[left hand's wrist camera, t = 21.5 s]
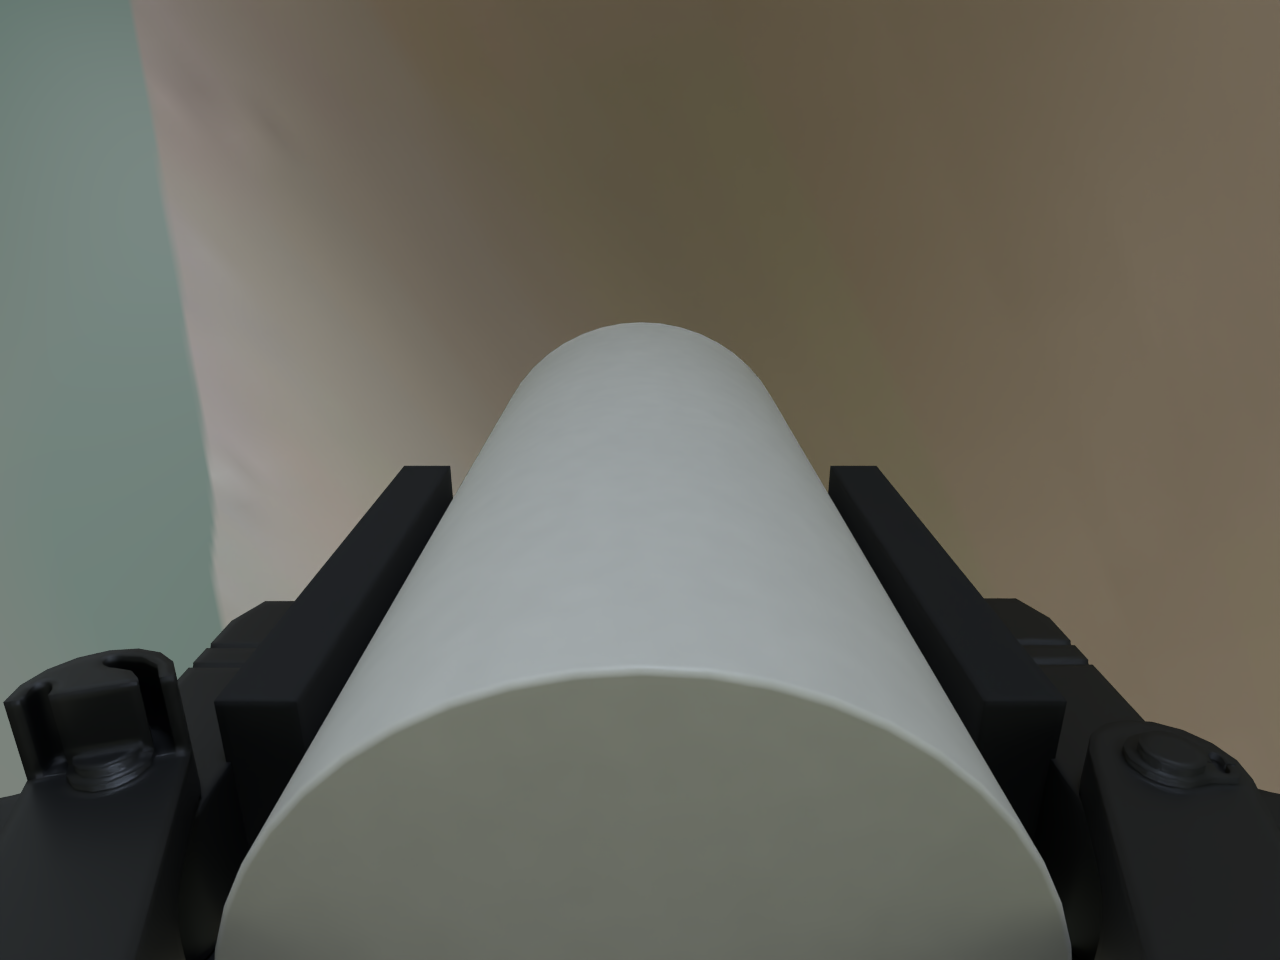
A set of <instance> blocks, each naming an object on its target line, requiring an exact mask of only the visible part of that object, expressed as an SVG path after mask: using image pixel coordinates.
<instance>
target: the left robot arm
mask: <svg viewBox="0 0 1280 960" xmlns="http://www.w3.org/2000/svg"><path fill="white" fill-rule="evenodd" d="M828 494H829V496H830V498H831V499H832V501H833V503H834V504H835V506H836V508H837V510H838V511H839V513H840V515H841V516H842V518H843V520H844V522H845V523H846V525H847V527H848V528H849V530H850V532H851V533H852V535H853V537H854V539H855V540H856V542H857V544H858V545H859V547H860V549H861V550H862V552H863V554H864V556H865V557H866V559H867V561H868V562H869V564H870V566H871V568H872V569H873V571H874V573H875V574H876V576H877V578H878V579H879V581H880V583H881V585H882V586H883V588H884V590H885V591H886V593H887V595H888V597H889V598H890V600H891V602H892V603H893V605H894V607H895V608H896V610H897V612H898V614H899V615H900V617H901V619H902V620H903V622H904V624H905V625H906V627H907V629H908V631H909V632H910V634H911V636H912V637H913V639H914V641H915V643H916V644H917V646H918V648H919V649H920V651H921V653H922V654H923V656H924V658H925V660H926V661H927V663H928V665H929V666H930V668H931V670H932V671H933V673H934V675H935V677H936V678H937V680H938V682H939V683H940V685H941V687H942V689H943V690H944V692H945V694H946V695H947V697H948V699H949V700H950V702H951V704H952V706H953V707H954V709H955V711H956V712H957V714H958V716H959V717H960V719H961V721H962V723H963V724H964V726H965V728H966V729H967V731H968V733H969V735H970V736H971V738H972V740H973V741H974V743H975V745H976V746H977V748H978V750H979V752H980V753H981V755H982V757H983V758H984V760H985V762H986V763H987V765H988V767H989V769H990V770H991V772H992V774H993V775H994V777H995V779H996V781H997V782H998V784H999V786H1000V787H1001V789H1002V791H1003V792H1004V794H1005V796H1006V798H1007V799H1008V801H1009V803H1010V804H1011V806H1012V808H1013V810H1014V811H1015V813H1016V815H1017V816H1018V818H1019V820H1020V821H1021V823H1022V825H1023V827H1024V828H1025V830H1026V832H1027V833H1028V835H1029V837H1030V838H1031V840H1032V842H1033V844H1034V845H1035V847H1036V849H1037V850H1038V852H1039V854H1040V856H1041V857H1042V859H1043V861H1044V863H1045V865H1046V867H1047V870H1048V872H1049V874H1050V877H1051V879H1052V881H1053V884H1054V886H1055V888H1056V891H1057V893H1058V895H1059V898H1060V900H1061V903H1062V907H1063V911H1064V916H1065V920H1066V924H1067V929H1068V933H1069V938H1070V942H1071V952H1072V960H1280V794H1277V793H1272V792H1268V791H1264V790H1260V789H1258V788H1257V787H1256V785H1255V783H1254V781H1253V779H1252V778H1251V777H1250V776H1249V774H1248V773H1247V772H1246V771H1245V769H1244V768H1243V767H1242V766H1241V765H1240V763H1239V762H1238V761H1237V760H1236V759H1234V758H1233V757H1231V756H1230V755H1228V754H1227V753H1225V752H1224V751H1223V750H1221V749H1220V748H1218V747H1217V746H1215V745H1214V744H1213V743H1210V742H1208V741H1206V740H1204V739H1202V738H1199V737H1197V736H1195V735H1193V734H1190V733H1188V732H1186V731H1184V730H1181V729H1177V728H1173V727H1169V726H1166V725H1162V724H1158V723H1154V722H1146V721H1144V720H1143V719H1142V718H1141V717H1140V715H1139V714H1138V713H1137V712H1136V711H1135V710H1134V709H1133V708H1132V707H1131V706H1130V705H1129V704H1128V702H1127V701H1126V700H1125V699H1124V698H1123V697H1122V696H1121V695H1120V694H1119V693H1118V692H1117V691H1116V689H1115V688H1114V687H1113V686H1112V685H1111V684H1110V683H1109V682H1108V681H1107V680H1106V679H1105V678H1104V676H1103V675H1102V674H1101V673H1100V672H1099V671H1098V670H1097V669H1096V668H1095V667H1094V666H1093V665H1089V664H1088V659H1087V658H1086V657H1085V656H1084V655H1083V654H1082V653H1081V652H1080V650H1079V649H1078V648H1077V647H1076V646H1075V645H1071V643H1070V640H1069V639H1068V637H1067V636H1066V635H1065V634H1064V633H1063V632H1062V631H1061V630H1060V629H1059V628H1058V627H1057V626H1056V624H1055V623H1054V622H1053V621H1052V620H1051V619H1050V618H1049V617H1047V616H1045V615H1044V614H1042V613H1040V612H1038V611H1037V610H1035V609H1033V608H1031V607H1030V606H1028V605H1026V604H1025V603H1023V602H1021V601H1019V600H1018V599H984V598H983V597H982V596H981V594H980V593H979V592H978V591H977V590H976V588H975V587H974V586H973V585H972V583H971V582H970V581H969V580H968V578H967V577H966V576H965V575H964V574H963V572H962V571H961V570H960V569H959V567H958V566H957V565H956V564H955V562H954V561H953V560H952V559H951V557H950V556H949V555H948V554H947V553H946V551H945V550H944V549H943V548H942V546H941V545H940V544H939V543H938V541H937V540H936V539H935V538H934V536H933V535H932V534H931V533H930V532H929V530H928V529H927V528H926V527H925V525H924V524H923V523H922V522H921V520H920V519H919V518H918V517H917V516H916V514H915V513H914V512H913V511H912V509H911V508H910V507H909V506H908V504H907V503H906V502H905V501H904V499H903V498H902V497H901V496H900V495H899V493H898V492H897V491H896V490H895V488H894V487H893V486H892V485H891V483H890V482H889V481H888V480H887V479H886V477H885V476H884V475H883V474H882V472H881V471H880V470H879V469H878V467H877V466H830V478H829V490H828ZM452 500H453V495H452V482H451V470H450V466H404V467H403V468H402V469H401V471H400V472H399V473H398V474H397V476H396V477H395V478H394V479H393V481H392V482H391V483H390V484H389V486H388V487H387V488H386V489H385V490H384V492H383V493H382V494H381V495H380V497H379V498H378V499H377V500H376V502H375V503H374V504H373V505H372V506H371V508H370V509H369V510H368V511H367V513H366V514H365V515H364V516H363V518H362V519H361V520H360V521H359V523H358V524H357V525H356V526H355V527H354V529H353V530H352V531H351V532H350V534H349V535H348V536H347V537H346V539H345V540H344V541H343V542H342V544H341V545H340V546H339V547H338V548H337V550H336V551H335V552H334V553H333V555H332V556H331V557H330V558H329V560H328V561H327V562H326V563H325V564H324V566H323V567H322V568H321V569H320V571H319V572H318V573H317V574H316V576H315V577H314V578H313V579H312V581H311V582H310V583H309V584H308V585H307V587H306V588H305V589H304V590H303V592H302V593H301V594H300V595H299V597H298V598H297V599H296V600H295V601H265V602H263V603H261V604H260V605H258V606H256V607H255V608H253V609H251V610H249V611H248V612H246V613H244V614H243V615H241V616H239V617H237V618H236V619H234V620H232V621H231V622H230V623H229V624H228V625H227V627H226V628H225V629H224V630H223V631H222V632H221V633H220V634H219V635H218V636H217V637H216V639H215V640H214V641H213V642H212V643H211V648H207V649H205V651H204V652H203V653H202V654H201V655H200V656H199V657H198V658H197V659H196V660H195V661H194V663H193V668H188V669H187V670H186V671H185V672H184V673H183V675H182V676H181V677H180V678H179V679H178V680H177V677H176V672H175V668H174V663H173V661H172V660H170V659H169V658H167V657H166V656H165V655H163V654H162V653H160V652H155V651H149V650H143V649H125V650H110V651H105V652H101V653H96V654H92V655H88V656H84V657H79V658H76V659H73V660H71V661H68V662H65V663H63V664H60V665H58V666H55V667H53V668H50V669H47V670H45V671H44V672H42V673H40V674H39V675H37V676H35V677H34V678H32V679H30V680H29V681H27V682H25V683H23V684H22V685H20V686H19V687H18V688H17V689H16V690H15V691H14V692H13V693H12V694H11V695H10V696H9V697H8V698H7V699H6V700H5V701H4V706H5V709H6V712H7V716H8V719H9V722H10V725H11V728H12V732H13V735H14V738H15V741H16V745H17V748H18V751H19V754H20V757H21V761H22V764H23V767H24V770H25V774H26V777H27V780H28V781H27V782H26V784H25V786H24V788H23V790H22V792H21V793H20V794H16V795H13V796H8V797H3V798H0V960H215V947H216V942H217V937H218V932H219V928H220V923H221V918H222V914H223V909H224V905H225V903H226V900H227V898H228V895H229V893H230V890H231V888H232V886H233V883H234V881H235V878H236V876H237V873H238V871H239V869H240V866H241V864H242V862H243V860H244V859H245V857H246V855H247V854H248V852H249V850H250V848H251V847H252V845H253V843H254V841H255V840H256V838H257V836H258V835H259V833H260V831H261V829H262V828H263V826H264V824H265V822H266V821H267V819H268V817H269V816H270V814H271V812H272V810H273V809H274V807H275V805H276V803H277V802H278V800H279V798H280V797H281V795H282V793H283V791H284V790H285V788H286V786H287V784H288V783H289V781H290V779H291V778H292V776H293V774H294V772H295V771H296V769H297V767H298V765H299V764H300V762H301V760H302V759H303V757H304V755H305V753H306V752H307V750H308V748H309V746H310V745H311V743H312V741H313V740H314V738H315V736H316V734H317V733H318V731H319V729H320V727H321V726H322V724H323V722H324V721H325V719H326V717H327V715H328V714H329V712H330V710H331V708H332V707H333V705H334V703H335V702H336V700H337V698H338V696H339V695H340V693H341V691H342V689H343V688H344V686H345V684H346V683H347V681H348V679H349V677H350V676H351V674H352V672H353V671H354V669H355V667H356V665H357V664H358V662H359V660H360V658H361V657H362V655H363V653H364V652H365V650H366V648H367V646H368V645H369V643H370V641H371V639H372V638H373V636H374V634H375V633H376V631H377V629H378V627H379V626H380V624H381V622H382V620H383V619H384V617H385V615H386V614H387V612H388V610H389V608H390V607H391V605H392V603H393V601H394V600H395V598H396V596H397V595H398V593H399V591H400V589H401V588H402V586H403V584H404V582H405V581H406V579H407V577H408V576H409V574H410V572H411V570H412V569H413V567H414V565H415V563H416V562H417V560H418V558H419V557H420V555H421V553H422V551H423V550H424V548H425V546H426V544H427V543H428V541H429V539H430V538H431V536H432V534H433V532H434V531H435V529H436V527H437V525H438V524H439V522H440V520H441V519H442V517H443V515H444V513H445V512H446V510H447V508H448V506H449V505H450V503H451V501H452Z"/></svg>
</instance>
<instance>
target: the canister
mask: <svg viewBox="0 0 1280 960" xmlns="http://www.w3.org/2000/svg"><path fill="white" fill-rule="evenodd" d="M215 960H1072V952H1071V942H1070V938H1069V933H1068V929H1067V924H1066V920H1065V916H1064V911H1063V907H1062V903H1061V900H1060V898H1059V895H1058V893H1057V891H1056V888H1055V886H1054V884H1053V881H1052V879H1051V877H1050V874H1049V872H1048V870H1047V867H1046V865H1045V863H1044V861H1043V859H1042V857H1041V856H1040V854H1039V852H1038V850H1037V849H1036V847H1035V845H1034V844H1033V842H1032V840H1031V838H1030V837H1029V835H1028V833H1027V832H1026V830H1025V828H1024V827H1023V825H1022V823H1021V821H1020V820H1019V818H1018V816H1017V815H1016V813H1015V811H1014V810H1013V808H1012V806H1011V804H1010V803H1009V801H1008V799H1007V798H1006V796H1005V794H1004V792H1003V791H1002V789H1001V787H1000V786H999V784H998V782H997V781H996V779H995V777H994V775H993V774H992V772H991V770H990V769H989V767H988V765H987V763H986V762H985V760H984V758H983V757H982V755H981V753H980V752H979V750H978V748H977V746H976V745H975V743H974V741H973V740H972V738H971V736H970V735H969V733H968V731H967V729H966V728H965V726H964V724H963V723H962V721H961V719H960V717H959V716H958V714H957V712H956V711H955V709H954V707H953V706H952V704H951V702H950V700H949V699H948V697H947V695H946V694H945V692H944V690H943V689H942V687H941V685H940V683H939V682H938V680H937V678H936V677H935V675H934V673H933V671H932V670H931V668H930V666H929V665H928V663H927V661H926V660H925V658H924V656H923V654H922V653H921V651H920V649H919V648H918V646H917V644H916V643H915V641H914V639H913V637H912V636H911V634H910V632H909V631H908V629H907V627H906V625H905V624H904V622H903V620H902V619H901V617H900V615H899V614H898V612H897V610H896V608H895V607H894V605H893V603H892V602H891V600H890V598H889V597H888V595H887V593H886V591H885V590H884V588H883V586H882V585H881V583H880V581H879V579H878V578H877V576H876V574H875V573H874V571H873V569H872V568H871V566H870V564H869V562H868V561H867V559H866V557H865V556H864V554H863V552H862V550H861V549H860V547H859V545H858V544H857V542H856V540H855V539H854V537H853V535H852V533H851V532H850V530H849V528H848V527H847V525H846V523H845V522H844V520H843V518H842V516H841V515H840V513H839V511H838V510H837V508H836V506H835V504H834V503H833V501H832V499H831V498H830V496H829V494H828V493H827V491H826V489H825V487H824V486H823V484H822V482H821V481H820V479H819V477H818V476H817V474H816V472H815V470H814V469H813V467H812V465H811V464H810V462H809V460H808V458H807V457H806V455H805V453H804V452H803V450H802V448H801V447H800V445H799V443H798V441H797V440H796V438H795V436H794V435H793V433H792V431H791V430H790V428H789V426H788V424H787V423H786V421H785V419H784V418H783V416H782V414H781V412H780V411H779V409H778V407H777V406H776V404H775V402H774V401H773V399H772V397H771V396H770V394H769V392H768V391H767V389H766V388H765V386H764V385H763V383H762V381H761V380H760V379H759V378H758V377H757V376H756V374H755V373H754V372H753V371H752V370H751V368H750V367H749V366H748V365H747V364H745V363H744V362H743V361H742V360H741V359H740V358H739V357H738V356H736V355H735V354H734V353H733V352H731V351H730V350H728V349H727V348H725V347H724V346H722V345H721V344H719V343H718V342H716V341H714V340H712V339H710V338H708V337H706V336H704V335H702V334H699V333H696V332H693V331H690V330H687V329H684V328H681V327H677V326H671V325H666V324H661V323H645V322H638V323H624V324H617V325H612V326H607V327H602V328H599V329H596V330H593V331H590V332H587V333H584V334H582V335H580V336H578V337H576V338H574V339H572V340H570V341H568V342H566V343H564V344H562V345H561V346H559V347H558V348H557V349H555V350H554V351H552V352H551V353H549V354H548V355H547V356H546V357H545V358H543V359H542V360H541V361H540V362H539V363H538V364H537V365H536V366H535V367H534V368H533V369H532V370H531V371H530V372H529V374H528V375H527V376H526V377H525V378H524V380H523V381H522V382H521V383H520V385H519V387H518V388H517V390H516V391H515V393H514V395H513V396H512V398H511V399H510V401H509V403H508V405H507V406H506V408H505V410H504V412H503V413H502V415H501V417H500V418H499V420H498V422H497V424H496V425H495V427H494V429H493V431H492V432H491V434H490V436H489V437H488V439H487V441H486V443H485V444H484V446H483V448H482V450H481V451H480V453H479V455H478V456H477V458H476V460H475V462H474V463H473V465H472V467H471V469H470V470H469V472H468V474H467V475H466V477H465V479H464V481H463V482H462V484H461V486H460V487H459V489H458V491H457V493H456V494H455V496H454V498H453V500H452V501H451V503H450V505H449V506H448V508H447V510H446V512H445V513H444V515H443V517H442V519H441V520H440V522H439V524H438V525H437V527H436V529H435V531H434V532H433V534H432V536H431V538H430V539H429V541H428V543H427V544H426V546H425V548H424V550H423V551H422V553H421V555H420V557H419V558H418V560H417V562H416V563H415V565H414V567H413V569H412V570H411V572H410V574H409V576H408V577H407V579H406V581H405V582H404V584H403V586H402V588H401V589H400V591H399V593H398V595H397V596H396V598H395V600H394V601H393V603H392V605H391V607H390V608H389V610H388V612H387V614H386V615H385V617H384V619H383V620H382V622H381V624H380V626H379V627H378V629H377V631H376V633H375V634H374V636H373V638H372V639H371V641H370V643H369V645H368V646H367V648H366V650H365V652H364V653H363V655H362V657H361V658H360V660H359V662H358V664H357V665H356V667H355V669H354V671H353V672H352V674H351V676H350V677H349V679H348V681H347V683H346V684H345V686H344V688H343V689H342V691H341V693H340V695H339V696H338V698H337V700H336V702H335V703H334V705H333V707H332V708H331V710H330V712H329V714H328V715H327V717H326V719H325V721H324V722H323V724H322V726H321V727H320V729H319V731H318V733H317V734H316V736H315V738H314V740H313V741H312V743H311V745H310V746H309V748H308V750H307V752H306V753H305V755H304V757H303V759H302V760H301V762H300V764H299V765H298V767H297V769H296V771H295V772H294V774H293V776H292V778H291V779H290V781H289V783H288V784H287V786H286V788H285V790H284V791H283V793H282V795H281V797H280V798H279V800H278V802H277V803H276V805H275V807H274V809H273V810H272V812H271V814H270V816H269V817H268V819H267V821H266V822H265V824H264V826H263V828H262V829H261V831H260V833H259V835H258V836H257V838H256V840H255V841H254V843H253V845H252V847H251V848H250V850H249V852H248V854H247V855H246V857H245V859H244V860H243V862H242V864H241V866H240V869H239V871H238V873H237V876H236V878H235V881H234V883H233V886H232V888H231V890H230V893H229V895H228V898H227V900H226V903H225V905H224V909H223V914H222V918H221V923H220V928H219V932H218V937H217V942H216V947H215Z"/></svg>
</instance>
